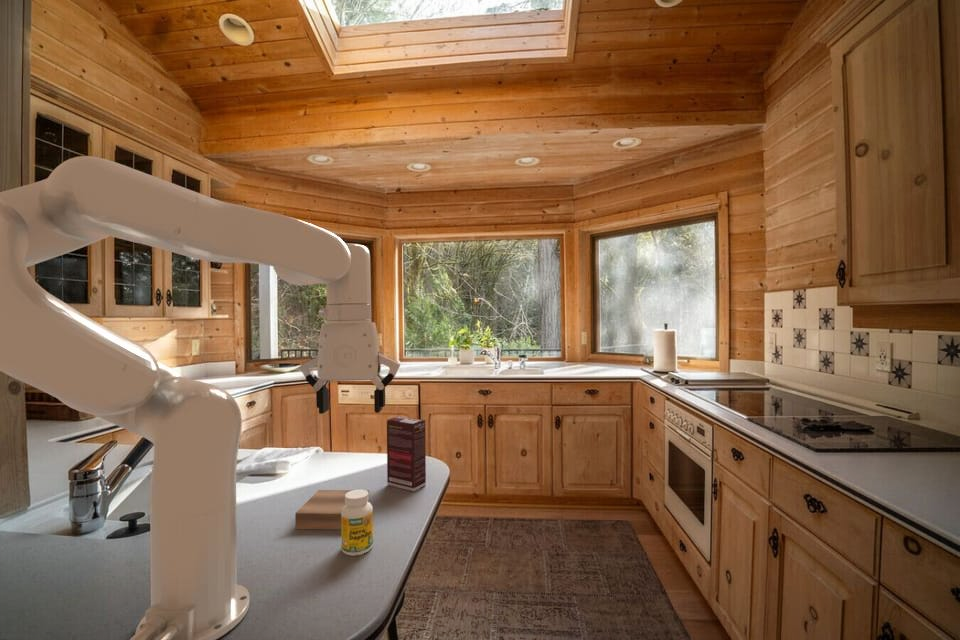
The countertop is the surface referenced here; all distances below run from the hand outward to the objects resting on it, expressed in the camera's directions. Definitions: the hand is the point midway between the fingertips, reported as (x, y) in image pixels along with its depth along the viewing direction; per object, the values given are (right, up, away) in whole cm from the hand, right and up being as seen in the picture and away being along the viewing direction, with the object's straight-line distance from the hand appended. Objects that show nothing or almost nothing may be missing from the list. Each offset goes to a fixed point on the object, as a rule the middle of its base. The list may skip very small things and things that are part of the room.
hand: (351, 411), depth 75 cm
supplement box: (+5, -24, +27) cm, 36 cm away
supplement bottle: (+1, -24, -1) cm, 24 cm away
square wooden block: (-7, -24, +11) cm, 27 cm away
